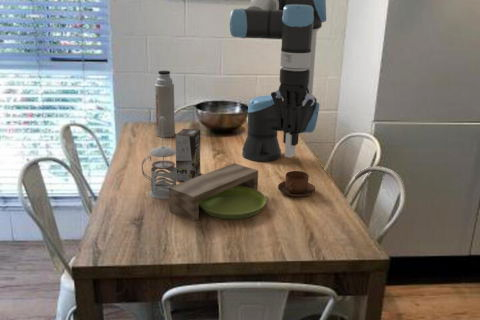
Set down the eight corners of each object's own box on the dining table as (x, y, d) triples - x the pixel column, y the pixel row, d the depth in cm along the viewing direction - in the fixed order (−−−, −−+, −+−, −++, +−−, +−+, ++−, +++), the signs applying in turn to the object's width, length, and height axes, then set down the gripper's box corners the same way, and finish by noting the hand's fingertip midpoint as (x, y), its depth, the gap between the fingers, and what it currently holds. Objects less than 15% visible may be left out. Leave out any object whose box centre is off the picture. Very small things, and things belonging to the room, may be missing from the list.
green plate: (203, 192, 162) (203, 183, 161) (267, 196, 160) (267, 187, 159) (191, 221, 143) (191, 210, 142) (264, 225, 141) (264, 215, 140)
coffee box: (193, 182, 170) (193, 136, 165) (175, 180, 171) (174, 134, 166) (201, 173, 178) (201, 129, 173) (183, 171, 179) (183, 127, 174)
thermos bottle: (156, 137, 218) (154, 72, 209) (156, 132, 226) (154, 69, 216) (174, 137, 219) (173, 72, 210) (174, 132, 226) (173, 69, 217)
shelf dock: (257, 192, 163) (258, 170, 160) (193, 221, 142) (193, 196, 139) (234, 184, 169) (234, 163, 167) (169, 211, 148) (168, 187, 145)
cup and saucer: (314, 201, 157) (315, 183, 155) (275, 198, 159) (276, 180, 157) (315, 187, 169) (316, 169, 166) (279, 184, 170) (280, 167, 168)
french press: (180, 198, 157) (179, 120, 149) (142, 199, 155) (139, 121, 147) (178, 186, 166) (177, 112, 158) (143, 187, 164) (139, 113, 156)
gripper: (265, 66, 129) (262, 153, 137) (308, 73, 121) (302, 165, 130) (282, 63, 135) (278, 147, 143) (324, 69, 127) (317, 157, 135)
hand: (289, 155), depth 136 cm, fingers closed
